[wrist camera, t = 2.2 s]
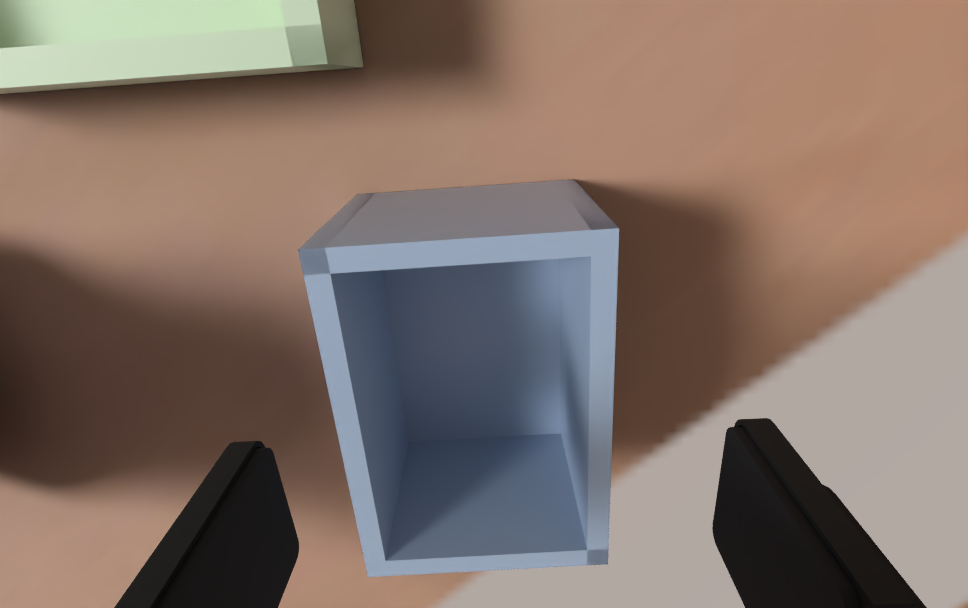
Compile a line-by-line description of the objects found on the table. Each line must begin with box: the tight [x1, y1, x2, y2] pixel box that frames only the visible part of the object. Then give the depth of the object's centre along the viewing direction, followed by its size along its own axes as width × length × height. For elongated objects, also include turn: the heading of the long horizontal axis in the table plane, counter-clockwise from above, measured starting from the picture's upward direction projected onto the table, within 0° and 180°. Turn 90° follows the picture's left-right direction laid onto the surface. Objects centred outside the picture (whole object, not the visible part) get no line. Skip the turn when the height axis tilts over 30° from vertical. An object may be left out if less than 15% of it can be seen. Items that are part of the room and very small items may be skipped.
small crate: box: [298, 179, 619, 577], centre depth 16 cm, size 10×7×6 cm
